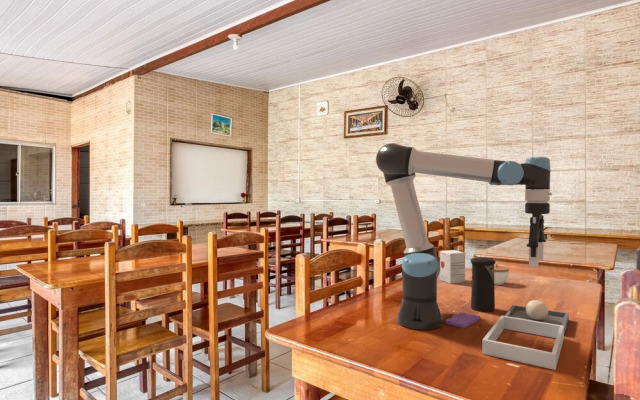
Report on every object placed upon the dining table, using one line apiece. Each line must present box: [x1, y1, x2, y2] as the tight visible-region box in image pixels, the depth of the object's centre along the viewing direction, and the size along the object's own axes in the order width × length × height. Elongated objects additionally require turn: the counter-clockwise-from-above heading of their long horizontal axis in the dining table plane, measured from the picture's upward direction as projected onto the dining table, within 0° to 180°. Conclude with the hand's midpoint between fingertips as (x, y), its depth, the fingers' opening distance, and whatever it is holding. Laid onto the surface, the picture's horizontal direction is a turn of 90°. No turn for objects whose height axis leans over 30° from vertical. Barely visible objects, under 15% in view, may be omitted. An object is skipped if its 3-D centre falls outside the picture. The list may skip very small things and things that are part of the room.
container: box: [470, 256, 496, 313], centre depth 155 cm, size 9×9×20 cm
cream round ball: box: [525, 299, 549, 320], centre depth 140 cm, size 7×7×7 cm
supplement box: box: [439, 249, 466, 285], centre depth 201 cm, size 9×9×15 cm
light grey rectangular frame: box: [481, 315, 565, 371], centre depth 119 cm, size 26×18×4 cm
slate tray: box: [504, 304, 570, 337], centre depth 140 cm, size 18×18×2 cm
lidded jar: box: [494, 263, 510, 286], centre depth 196 cm, size 11×11×9 cm
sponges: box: [445, 312, 481, 329], centre depth 141 cm, size 7×13×2 cm, turn 136°
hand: (536, 263), depth 139 cm, fingers open, 13 cm apart
